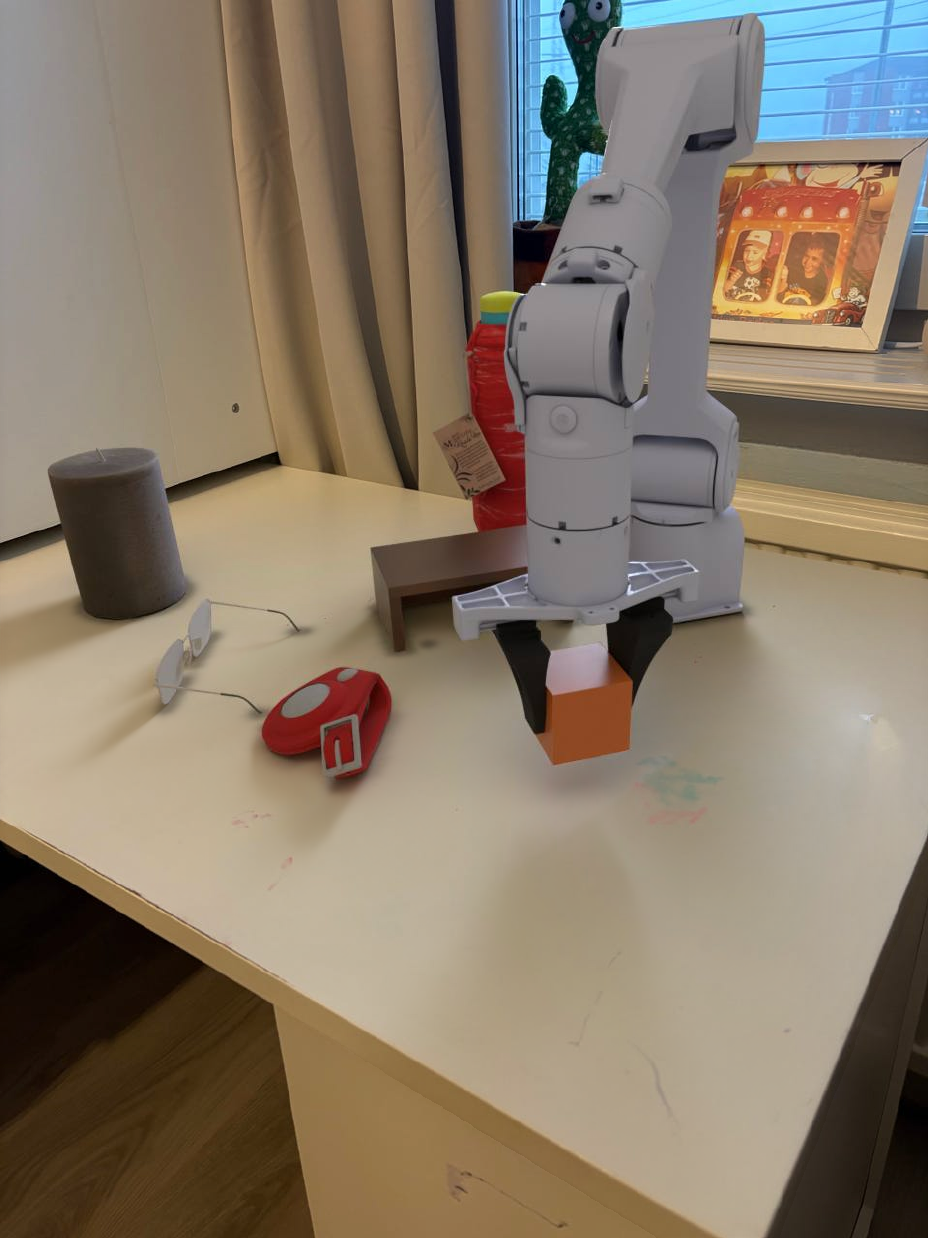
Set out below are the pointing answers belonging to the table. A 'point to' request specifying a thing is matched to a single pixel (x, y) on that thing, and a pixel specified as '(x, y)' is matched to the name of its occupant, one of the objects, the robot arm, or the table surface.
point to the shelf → (443, 571)
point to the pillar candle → (118, 531)
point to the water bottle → (488, 426)
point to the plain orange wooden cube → (585, 705)
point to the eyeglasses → (174, 658)
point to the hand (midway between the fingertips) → (576, 717)
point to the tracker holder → (332, 719)
